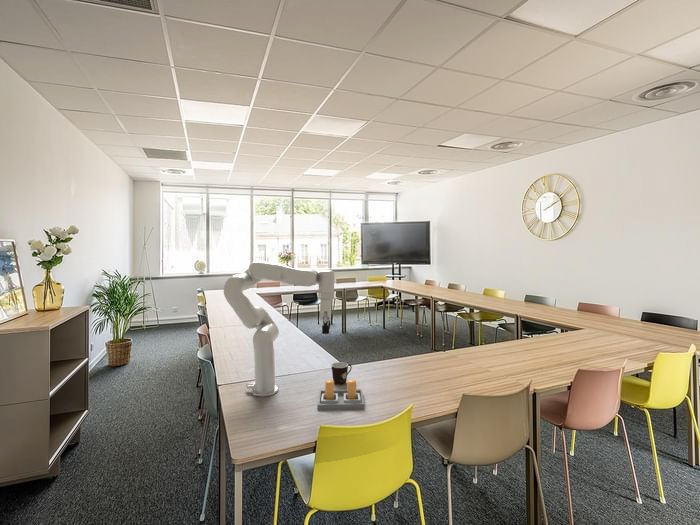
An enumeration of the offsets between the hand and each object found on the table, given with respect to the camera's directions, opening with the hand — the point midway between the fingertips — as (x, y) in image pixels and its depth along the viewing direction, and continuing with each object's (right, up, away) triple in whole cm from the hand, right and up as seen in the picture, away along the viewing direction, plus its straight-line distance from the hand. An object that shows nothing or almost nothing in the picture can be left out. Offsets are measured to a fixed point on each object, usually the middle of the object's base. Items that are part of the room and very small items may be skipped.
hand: (326, 331), depth 163 cm
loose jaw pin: (+12, -29, -10) cm, 33 cm away
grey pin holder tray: (+7, -30, -10) cm, 33 cm away
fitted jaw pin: (+2, -29, -10) cm, 31 cm away
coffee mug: (+8, -30, +12) cm, 33 cm away
